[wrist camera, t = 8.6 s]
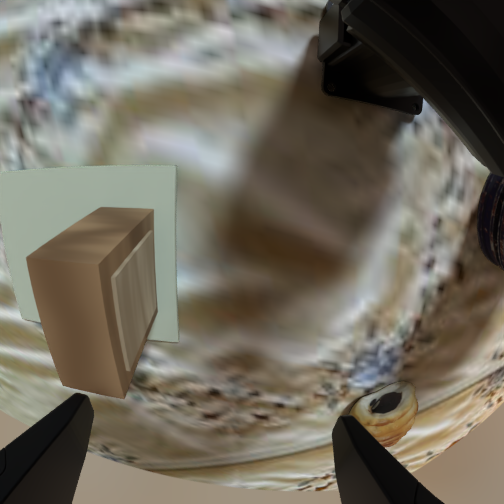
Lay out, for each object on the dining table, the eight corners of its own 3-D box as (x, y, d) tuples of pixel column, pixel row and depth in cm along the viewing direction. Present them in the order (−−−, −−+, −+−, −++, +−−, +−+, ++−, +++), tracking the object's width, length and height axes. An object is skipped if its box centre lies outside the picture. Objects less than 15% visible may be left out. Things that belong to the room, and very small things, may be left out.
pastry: (408, 423, 28) (419, 448, 24) (351, 444, 28) (359, 471, 25) (410, 372, 24) (426, 400, 21) (342, 397, 25) (352, 429, 21)
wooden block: (157, 208, 18) (103, 265, 10) (160, 311, 20) (128, 399, 13) (100, 206, 17) (25, 257, 10) (110, 306, 20) (62, 385, 12)
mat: (177, 165, 17) (175, 166, 17) (179, 339, 21) (178, 342, 21) (-1, 172, 16) (-5, 173, 16) (24, 316, 21) (22, 318, 20)
